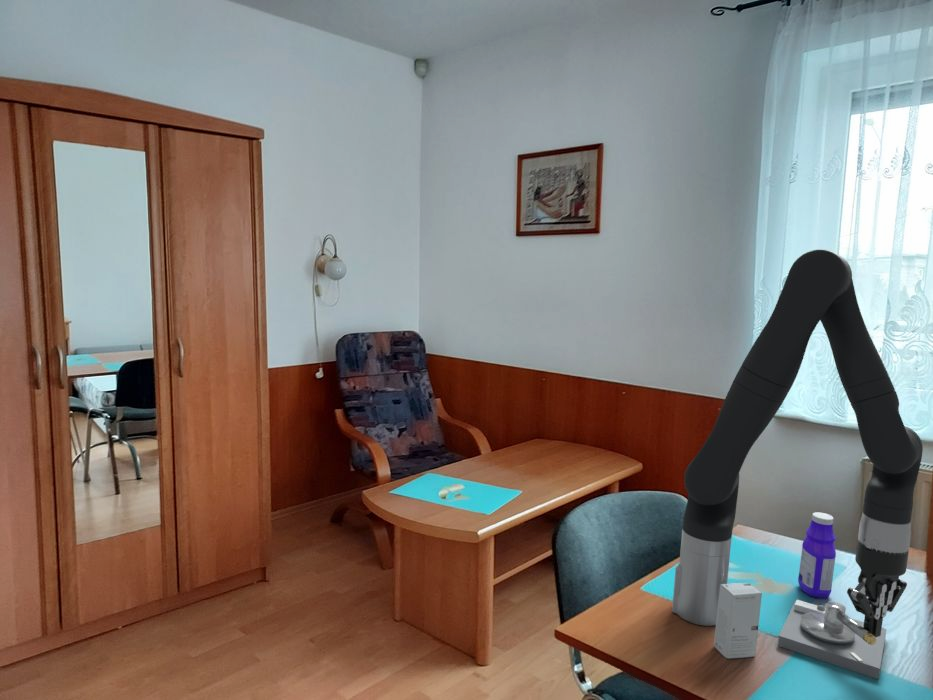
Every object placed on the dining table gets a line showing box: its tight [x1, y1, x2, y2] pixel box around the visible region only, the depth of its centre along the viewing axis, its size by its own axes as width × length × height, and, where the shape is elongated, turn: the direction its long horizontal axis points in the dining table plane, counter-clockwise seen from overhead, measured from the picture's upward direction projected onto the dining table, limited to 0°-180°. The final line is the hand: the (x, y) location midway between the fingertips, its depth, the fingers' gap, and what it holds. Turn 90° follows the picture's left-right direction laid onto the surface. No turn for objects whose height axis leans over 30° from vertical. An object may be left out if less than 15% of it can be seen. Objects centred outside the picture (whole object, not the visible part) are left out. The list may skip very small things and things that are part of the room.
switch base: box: [777, 599, 887, 680], centre depth 126 cm, size 16×16×4 cm
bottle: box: [797, 511, 837, 599], centre depth 145 cm, size 7×6×17 cm
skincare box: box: [713, 582, 763, 659], centre depth 121 cm, size 6×4×12 cm
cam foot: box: [800, 601, 876, 645], centre depth 122 cm, size 16×9×6 cm, turn 7°
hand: (871, 634), depth 118 cm, fingers closed
